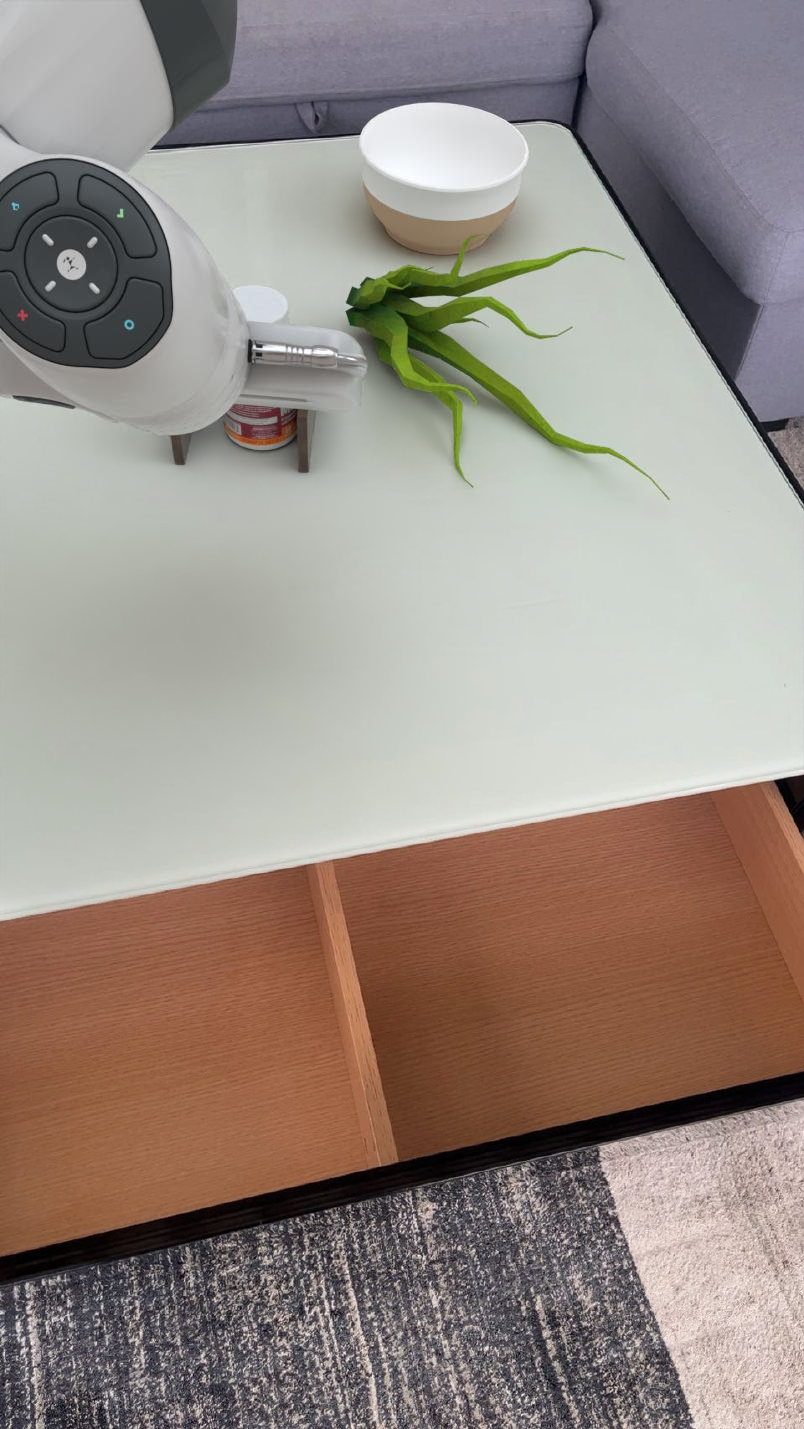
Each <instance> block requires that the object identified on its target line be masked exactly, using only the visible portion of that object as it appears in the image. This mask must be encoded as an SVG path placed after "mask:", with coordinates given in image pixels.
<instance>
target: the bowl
mask: <svg viewBox="0 0 804 1429" xmlns="http://www.w3.org/2000/svg"><path fill="white" fill-rule="evenodd" d="M358 149H359V151H360V154H361V156H362V167H361V178H362V184H363V192H364V195H365V197H366V200H367V202H368V204H369V207H370V208H371V210H372V212H373V214H374V215H375V216H376V218H377V219H378V220H379V221H380V222H381V223H382V225H383V226H384V229H385V232H386V233H387V234H388V236H389V237H390V238H391V239H392V240H394V241H395V243H398V244H400V245H401V246H403V247H404V248H407V249H409V250H412V251H415V252H418V253H422V254H428V255H435V256H436V255H437V256H448V255H449V256H451V255H459V254H460V251H461V248H462V246H463V243H464V242H465V241H466V240H467V239H468V238H469V237H470V236H473V235H478V234H486V235H492V233H493V232H495V231H496V230H497V229H498V228H499V227H501V225H503V224H504V222H505V221H506V219H507V218H508V217H509V215H510V214H511V213H512V211H513V209H514V208H515V205H516V202H517V200H518V195H519V193H520V189H521V185H522V173H523V170H524V169H525V167H526V165H527V164H528V161H529V157H530V152H529V145H528V143H527V141H526V139H525V137H524V135H523V134H522V133H521V132H520V131H519V130H518V129H517V127H516V126H514V125H513V124H511V122H508V121H507V120H506V119H503V118H502V117H500V116H498V115H496V114H494V113H492V112H489V111H486V110H483V109H481V108H477V107H476V108H475V107H473V106H469V105H464V104H457V103H451V102H450V103H449V102H417V103H411V104H405V105H400V106H396V107H394V108H389V109H387V110H385V111H382V112H381V113H378V114H377V115H376V116H374V117H372V118H371V119H370V120H369V121H368V122H367V123H366V124H365V125H364V127H363V128H362V130H361V132H360V134H359V137H358ZM486 235H480V236H477V237H474V238H471V240H470V241H469V243H468V244H467V246H466V250H465V253H467V252H470V251H473V250H475V249H477V248H479V247H481V246H482V245H483V244H484V243H485V242H486V241H487V240H488V239H489V237H490V236H486Z"/></svg>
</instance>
